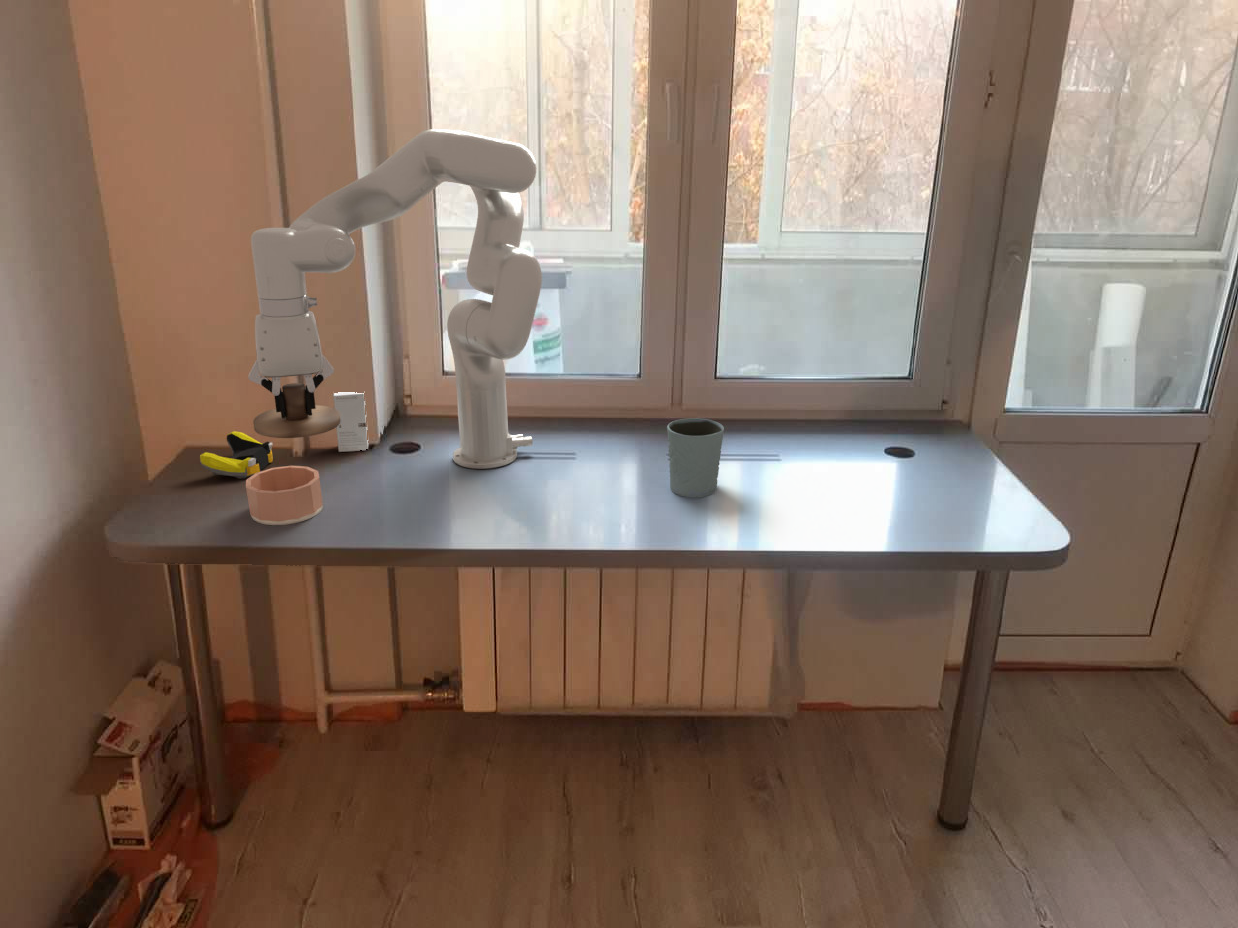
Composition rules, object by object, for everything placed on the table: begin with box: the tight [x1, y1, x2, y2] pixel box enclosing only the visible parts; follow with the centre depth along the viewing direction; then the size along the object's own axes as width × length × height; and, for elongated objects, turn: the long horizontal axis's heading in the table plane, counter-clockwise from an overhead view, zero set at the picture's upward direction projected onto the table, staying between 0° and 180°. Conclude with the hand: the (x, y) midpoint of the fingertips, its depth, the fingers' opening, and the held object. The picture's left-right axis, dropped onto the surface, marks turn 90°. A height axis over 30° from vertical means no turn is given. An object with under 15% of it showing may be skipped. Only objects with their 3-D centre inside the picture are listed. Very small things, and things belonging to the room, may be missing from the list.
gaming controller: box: [199, 430, 274, 479], centre depth 187 cm, size 15×6×10 cm
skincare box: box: [332, 392, 369, 453], centre depth 196 cm, size 6×4×12 cm
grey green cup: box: [666, 417, 725, 498], centre depth 176 cm, size 10×10×12 cm
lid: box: [252, 382, 341, 439], centre depth 163 cm, size 14×14×7 cm
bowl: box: [245, 465, 324, 526], centre depth 168 cm, size 12×12×6 cm
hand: (296, 413), depth 163 cm, fingers closed on lid, 3 cm apart
